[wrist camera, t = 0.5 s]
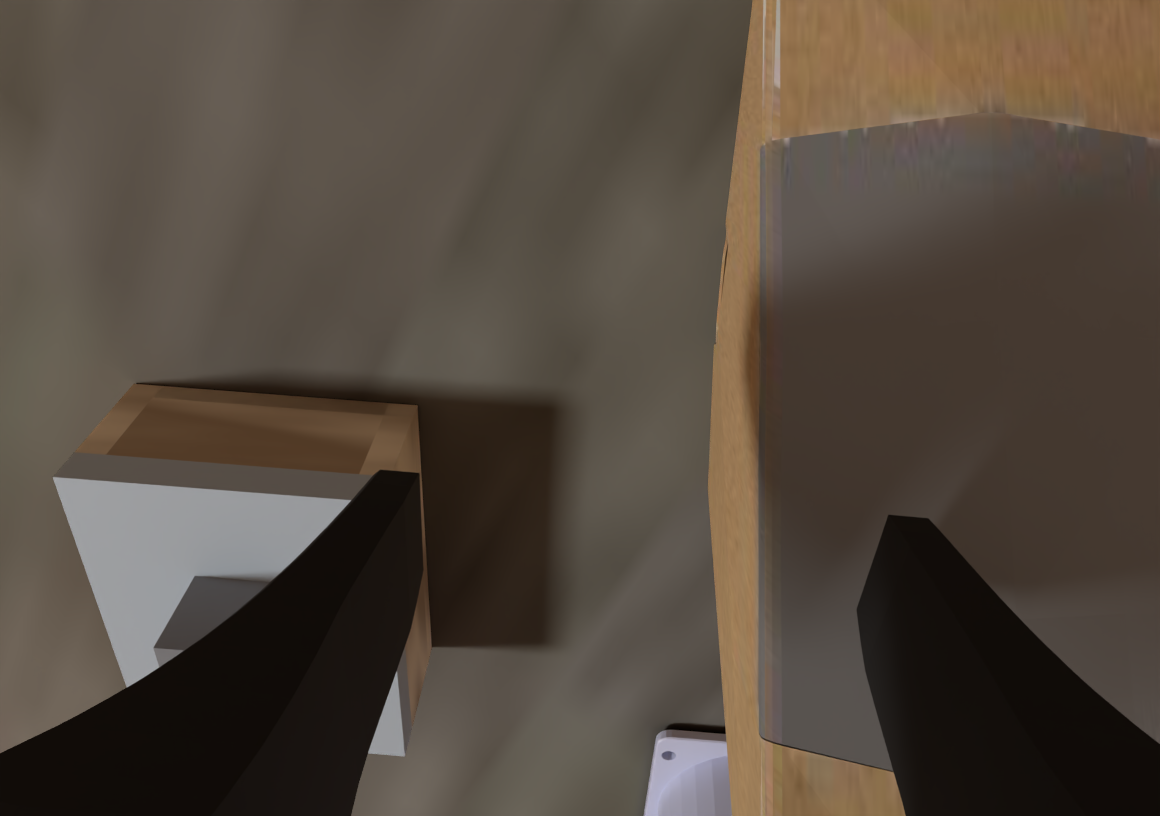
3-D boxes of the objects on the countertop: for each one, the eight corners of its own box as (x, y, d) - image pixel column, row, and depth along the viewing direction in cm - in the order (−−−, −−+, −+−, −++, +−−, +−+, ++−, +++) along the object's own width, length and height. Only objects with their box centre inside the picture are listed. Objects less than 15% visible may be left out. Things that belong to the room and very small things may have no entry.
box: (431, 647, 31) (412, 728, 28) (199, 629, 31) (158, 707, 28) (417, 405, 25) (391, 476, 22) (134, 383, 25) (74, 452, 23)
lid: (412, 728, 28) (386, 831, 25) (158, 707, 28) (104, 807, 25) (391, 476, 22) (354, 573, 20) (74, 452, 23) (-7, 544, 20)
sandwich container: (1202, -115, 17) (2577, 99, 5) (998, 497, 26) (1322, 1133, 14) (755, -116, 18) (1011, 80, 5) (699, 487, 26) (750, 1095, 14)
